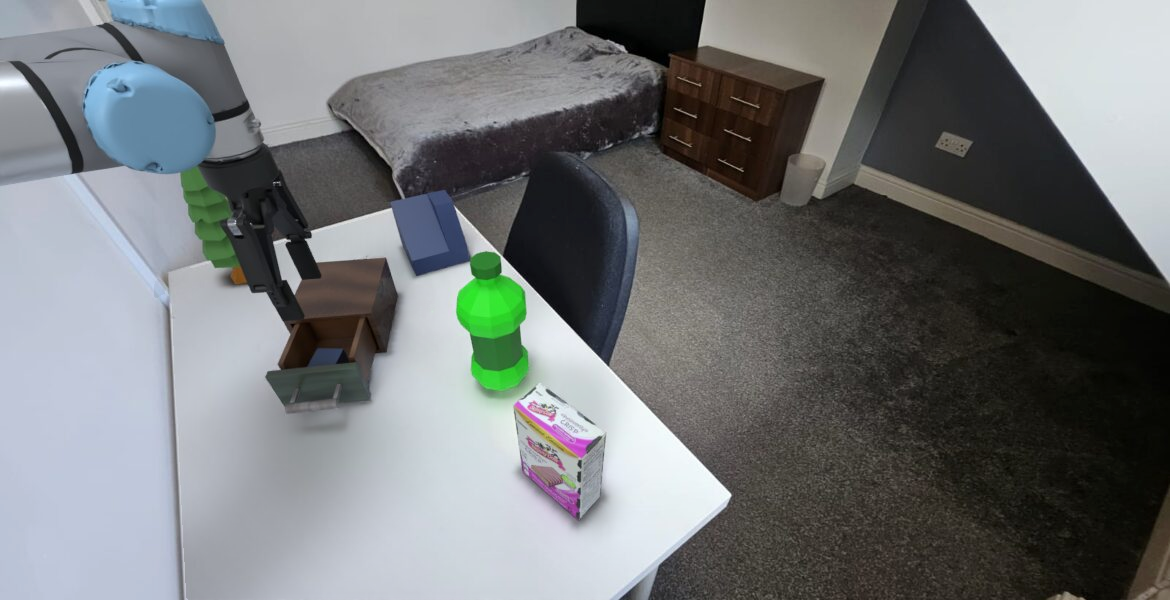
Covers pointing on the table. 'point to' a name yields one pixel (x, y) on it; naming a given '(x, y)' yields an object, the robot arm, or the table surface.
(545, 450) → the candy bar box
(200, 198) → the decorative tree
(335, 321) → the drawer
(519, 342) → the plastic bottle
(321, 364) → the block
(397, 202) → the phone stand
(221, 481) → the table surface
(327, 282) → the cabinet
